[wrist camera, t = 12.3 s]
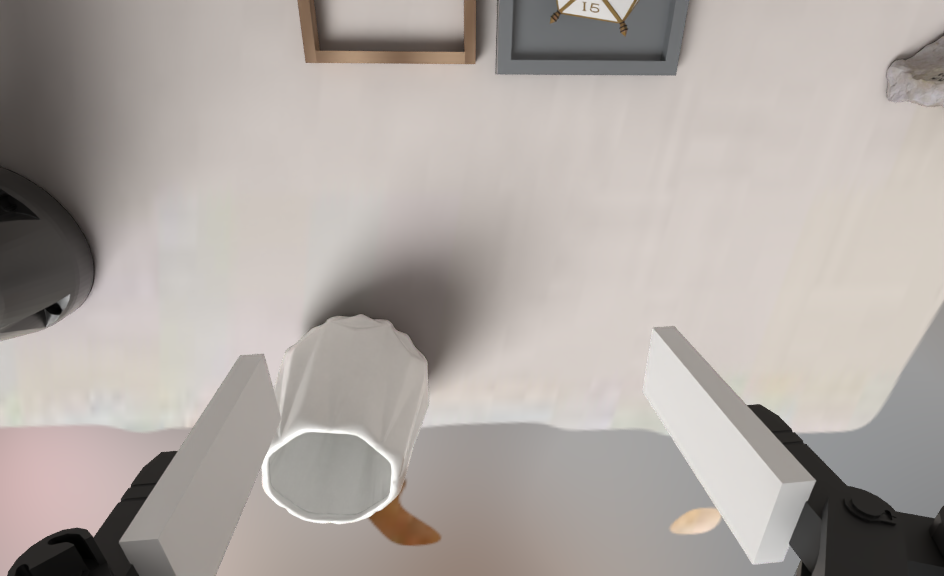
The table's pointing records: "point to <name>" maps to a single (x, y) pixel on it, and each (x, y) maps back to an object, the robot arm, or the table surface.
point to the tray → (588, 40)
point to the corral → (318, 56)
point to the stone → (919, 77)
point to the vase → (345, 420)
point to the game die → (597, 10)
